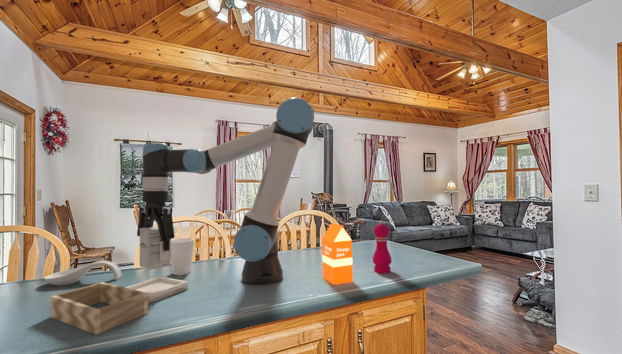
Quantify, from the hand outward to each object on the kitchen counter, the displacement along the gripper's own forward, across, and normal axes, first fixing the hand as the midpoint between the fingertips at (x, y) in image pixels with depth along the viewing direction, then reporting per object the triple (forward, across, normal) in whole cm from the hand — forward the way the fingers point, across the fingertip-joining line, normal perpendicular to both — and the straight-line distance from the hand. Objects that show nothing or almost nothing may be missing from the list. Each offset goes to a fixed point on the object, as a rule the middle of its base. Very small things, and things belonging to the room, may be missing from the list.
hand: (155, 259), depth 99 cm
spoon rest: (+12, +36, +4) cm, 37 cm away
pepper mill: (+10, -61, -54) cm, 82 cm away
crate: (+11, -2, +18) cm, 21 cm away
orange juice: (+11, -49, -37) cm, 63 cm away
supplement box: (+2, 0, 0) cm, 2 cm away
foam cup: (+11, +11, -19) cm, 25 cm away
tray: (+11, 0, 0) cm, 11 cm away
